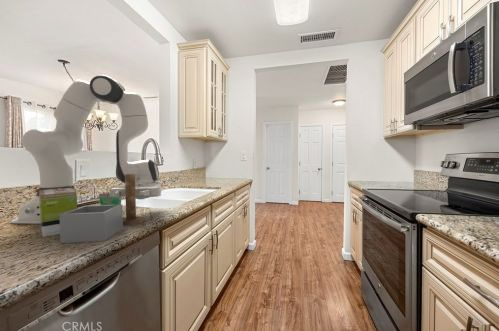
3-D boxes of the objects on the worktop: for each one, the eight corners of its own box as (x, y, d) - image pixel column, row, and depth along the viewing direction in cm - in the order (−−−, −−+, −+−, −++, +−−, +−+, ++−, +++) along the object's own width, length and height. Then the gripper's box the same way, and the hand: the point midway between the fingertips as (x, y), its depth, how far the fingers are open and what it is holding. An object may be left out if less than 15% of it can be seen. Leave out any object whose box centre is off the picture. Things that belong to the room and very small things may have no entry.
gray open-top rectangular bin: (60, 243, 69) (59, 214, 69) (85, 229, 82) (84, 205, 82) (105, 240, 71) (104, 212, 71) (122, 228, 84) (122, 204, 84)
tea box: (40, 228, 85) (38, 189, 85) (73, 222, 92) (72, 187, 92) (41, 237, 75) (39, 193, 74) (78, 230, 82) (77, 190, 81)
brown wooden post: (117, 225, 88) (116, 174, 87) (123, 222, 92) (122, 173, 92) (139, 224, 89) (138, 174, 88) (143, 221, 94) (142, 173, 93)
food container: (109, 215, 104) (109, 194, 103) (98, 214, 105) (98, 193, 105) (129, 209, 116) (128, 190, 115) (118, 209, 117) (118, 190, 117)
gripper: (117, 183, 102) (101, 186, 88) (164, 182, 104) (155, 185, 91) (118, 196, 102) (102, 202, 88) (164, 195, 105) (156, 201, 91)
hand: (129, 194), depth 90 cm, fingers open, 8 cm apart
